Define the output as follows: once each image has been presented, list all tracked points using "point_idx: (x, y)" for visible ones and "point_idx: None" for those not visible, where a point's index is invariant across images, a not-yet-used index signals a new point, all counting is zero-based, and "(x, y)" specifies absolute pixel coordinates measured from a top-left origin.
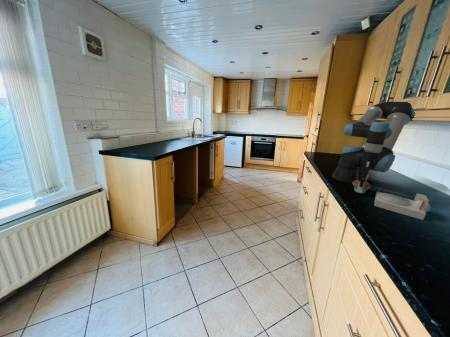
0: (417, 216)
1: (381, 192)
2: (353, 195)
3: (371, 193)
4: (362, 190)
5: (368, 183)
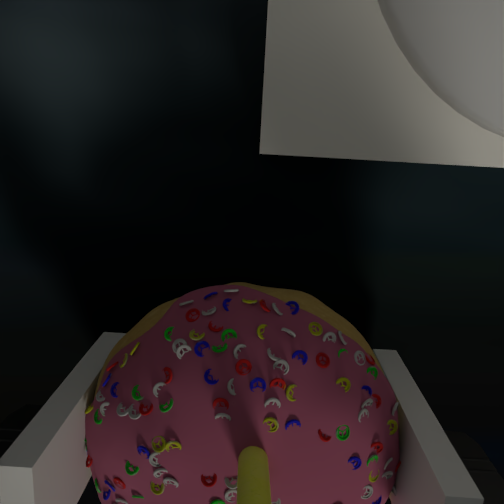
0: None
1: (267, 75)
2: (492, 419)
3: (154, 198)
4: (409, 373)
5: (265, 373)
